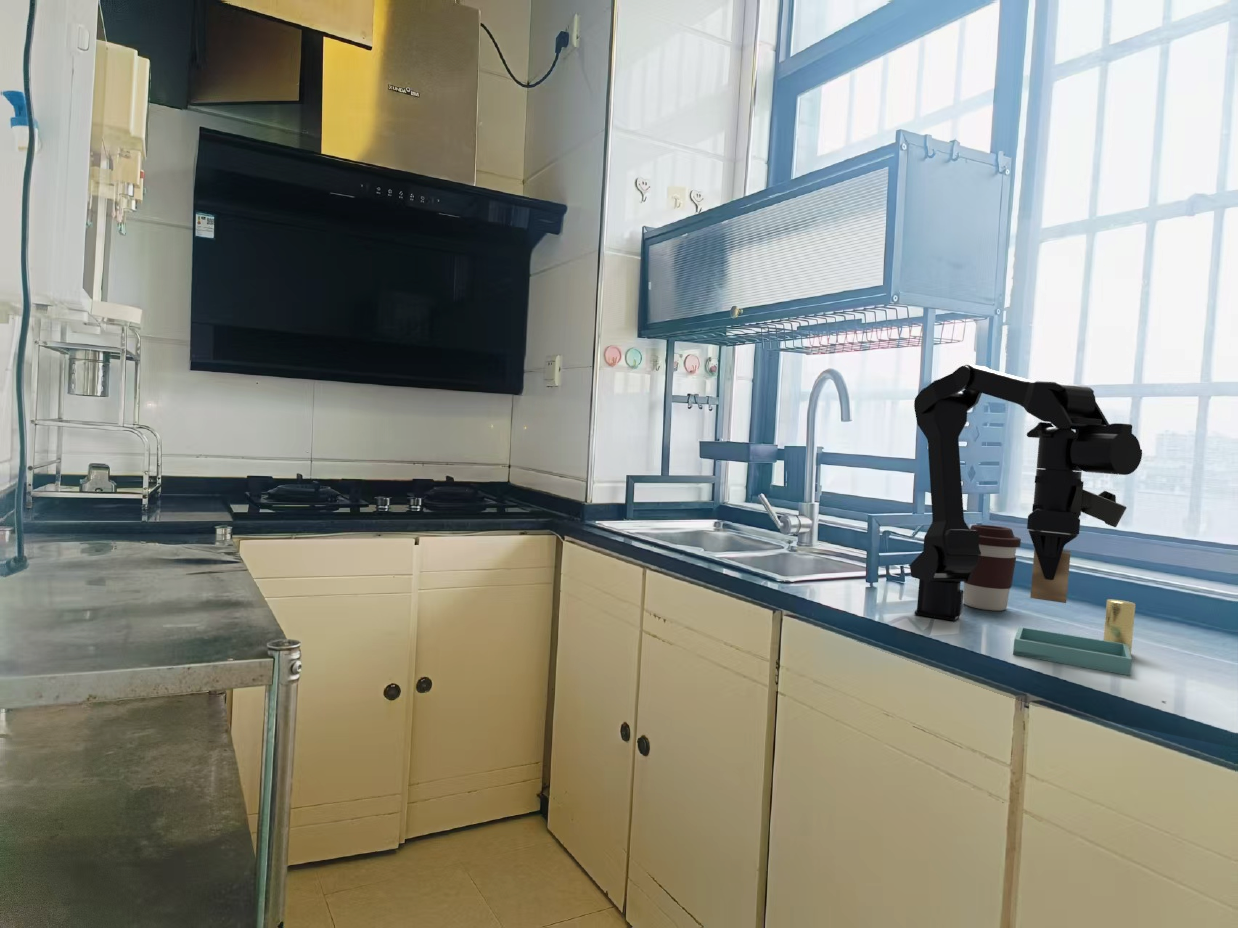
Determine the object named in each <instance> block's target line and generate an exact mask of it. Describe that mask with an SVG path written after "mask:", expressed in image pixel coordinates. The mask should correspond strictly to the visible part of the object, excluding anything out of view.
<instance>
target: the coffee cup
mask: <svg viewBox="0 0 1238 928" xmlns="http://www.w3.org/2000/svg"><path fill="white" fill-rule="evenodd" d="M969 529H970V530H977V531H978V533H979V548H980V551H981V555H978V556H979V559H978V564H977V566H975V569H974V571H973V574H972V576H971V579H970V581H969V582H963V591H964V592H963V603H964V604H965V605H966V606H967V607H971V608H974V609H978V610H985V611H995V612H997V611H999V612H1000V611H1005V610H1006V609H1008V603H1009V597H1010V596H1009V594H1010V590H1011V589H1012V585H1013V579H1014V574H1015V567H1016V563H1017V557H1016V554H1017V553H1016V552H1017V548H1019V547H1021V543H1022V540H1021V538H1020V537H1017V536H1015V535H1014V532H1013V529H1012V528H1009V527H1006V526H998V525H987V524H972V525H971V526H970V527H969Z"/></svg>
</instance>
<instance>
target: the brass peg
mask: <svg viewBox="0 0 1238 928" xmlns="http://www.w3.org/2000/svg"><path fill="white" fill-rule="evenodd" d="M1105 607H1106V608H1105V621H1104V630H1103V640H1105V641H1111V642H1117V643H1123V644H1128V647H1129V651H1130V654H1131V655H1132V648H1133V647H1132V646H1133V639H1134V638H1133V635H1134V625H1135V613H1136V603H1135V602H1131V601H1127V600H1123V599H1122V600H1120V599H1109V598H1108V599H1106V606H1105Z"/></svg>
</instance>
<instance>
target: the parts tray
mask: <svg viewBox="0 0 1238 928" xmlns="http://www.w3.org/2000/svg"><path fill="white" fill-rule="evenodd" d="M1016 631H1017V632H1016V634H1015V637H1014V640H1013V641H1014V642H1013V651H1012V655H1014V656H1020V657H1026V658H1031V659H1037V660H1043V661H1048V662H1052V663H1058V664H1063V665H1064V664H1065V665H1071V666H1075V667H1080V668H1081V667H1082V668H1087V669H1092V670H1097V671H1104V672H1109V673H1114V674H1119V675H1126V676H1131V673H1132V671H1131V670H1132V664H1133V663H1132V661H1133V659H1132V653H1131V654H1130V651H1129V647H1128V644H1123V643H1117V642H1111V641H1105V640H1104V639H1098V638H1092V637H1085V636H1080V635H1072V634H1067V633H1063V632H1062V633H1061V632H1055V631H1050V630H1049V631H1048V630H1043V629H1037V628H1030V627H1025V626H1018V628H1017V630H1016Z"/></svg>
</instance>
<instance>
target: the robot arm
mask: <svg viewBox="0 0 1238 928" xmlns="http://www.w3.org/2000/svg"><path fill="white" fill-rule="evenodd" d="M982 394H984V395H986V396H991V397H994V398H997V399H1001V400H1004V401H1007V402H1011V403H1013V404H1016V405H1019V406H1020V407H1022V408H1024V409H1023V410H1025V412H1026V413H1028V414H1030V415H1031V416H1033V417H1035V418H1037V419H1038V420H1040V421H1039V422H1038V423H1037V425H1036V426H1035V427H1034V428H1031V429H1029V431H1028V432H1027V433H1026V436H1027V438H1033V439H1038V446H1037V447H1038V448H1037V458H1036V459H1037V460H1036V470H1035V471H1036V472H1035V476H1034V484H1035V485H1034V494H1033V504H1032V509H1031V510H1032V511H1031V513H1029V514H1028V516H1027V522H1026V523H1027V524H1026V526H1027V527H1026V530H1028V534H1029V536H1030V539H1031V542H1032V545H1033V547H1034V550H1035V551H1036V554H1037V557H1038V560H1039V563H1040V566H1041V569H1042V572H1043V575H1044V578H1045V579H1047V580H1053V579H1054V577H1055V573H1056V570H1057V567H1058V564H1059V561H1060V558H1061V554H1062V551H1063V550H1064V548H1065V546H1066V545H1067V544H1069V543H1070V542H1072V541H1073V540H1074V539H1076V538H1077V537H1078V536H1079V535H1080V526H1081V519H1080V516H1082V515H1081V514H1082V513H1083V514H1086V515H1088V516H1090V517H1093V518H1095V519H1097V520H1100V521H1102V522H1104V523H1105V524H1106V525H1108V526H1110V527H1113V528H1117V526H1118V525H1119V523H1120V521H1121V519H1122V517H1123V515H1124V514H1125V512H1126V510H1127V506H1125V505H1123V504H1122V503H1119V502H1117V498H1116V497H1117V496H1116V494H1114V493H1111V492H1109V491H1107V490H1103V491H1102V492H1100V493H1098V494H1096V493H1094V492H1090V491H1088V490H1086V489H1084V481H1083V480H1082V473H1083V472H1085V473H1092V474H1093V473H1094V474H1108V475H1120V476H1122V475H1123V476H1126V475H1127V476H1128V475H1131V474H1132V473H1134V472H1135V471H1136V470H1137V469H1138V467H1139V466H1140V464H1141V462H1142V457H1143V449H1141V444H1140V441H1139V440H1138V438H1137V437H1136V435H1134V433H1133V425H1132V423H1130V424H1129V423H1119V422H1118V423H1109V421H1108V420H1107V418H1106V416H1105V414H1104V413H1103V411H1102V409H1101V408H1100V406H1099V404H1098V403H1097V401H1096V396H1095V391H1094V390H1093V389H1092V388H1091V387H1090V386H1087V385H1083V384H1075V383H1074V384H1073V383H1066V382H1065V383H1064V382H1058V381H1041V380H1040V381H1039V380H1038V381H1036V380H1035V381H1034V380H1032V379H1031V380H1030V379H1027V378H1024V377H1020V376H1016V375H1013V374H1008V373H1005V372H1001V371H997V370H994V369H990V368H989V367H987V366H984V365H972V364H965V365H961V366H959V367H958V368H956V369H955V370H954V371H953V372H952V373H949V374H948V375H945V376H944V377H942V378H941V377H940V378H939V379H937V380H934V381H932V382H931V383H930V384H929V385H927V386H926V387H924V388H922V389H921V390H920V391H919V393H918V394H917V395H916V397H915V398H914V402H913V404H914V405H913V408H914V414H915V419H916V423H917V426H918V427H919V429H920V430H921V432H922V434H923V435H924V437H925V438H926V440H927V450H928V451H927V453H928V466H929V467H928V468H929V469H928V470H929V485H930V486H929V487H930V499H931V502H930V503H931V514H932V515H931V517H932V520H931V521H932V522H931V524H930V526H929V527H928V529H927V531H926V532H925V535H924V537H923V549H922V550H923V551H921V553H920V554H918V556H917V557H916V558H915V559H914V560H913V561H912V562H911V563H910V565H909V571H910V576H911V578H914V579H917V580H918V581H919V582H918V592H917V604H916V606H917V607H916V610H914V615H918V616H924V617H930V618H936V619H940V620H946V621H954V622H955V621H956V620H957V618H958V617H960V616H961V615H962V614H963V603H964V589H961V583H962V582H963V583H964V582H969V581H970V579H971V576H972V574H973V571H974V569H975V566H977V564H978V559H979V556H978V555H981V551H980V548H979V533H978V531H977V530H970V527H969V526H968V524H967V523H966V521H965V515H964V514H965V513H964V501H963V499H964V498H963V486H962V471H961V469H962V468H961V458H960V457H961V456H960V455H961V454H960V441H959V439H960V438H959V437H960V435H961V433H962V432H963V430H964V428H965V426H966V424H967V421H968V412H969V411H970V410H972V408H973V407H975V406H976V405H978V404H979V401H980V398H981V396H982Z"/></svg>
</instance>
